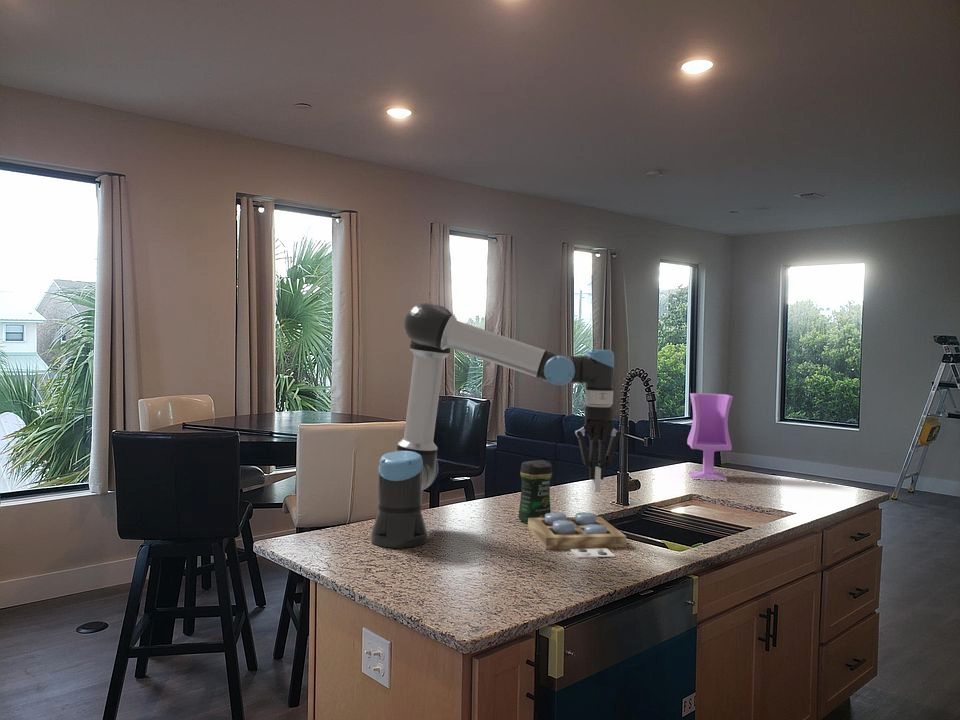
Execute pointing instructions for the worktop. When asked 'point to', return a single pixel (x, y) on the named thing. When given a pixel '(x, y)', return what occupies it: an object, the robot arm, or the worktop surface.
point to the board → (576, 536)
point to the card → (592, 553)
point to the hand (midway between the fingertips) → (596, 491)
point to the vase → (709, 430)
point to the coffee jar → (535, 489)
